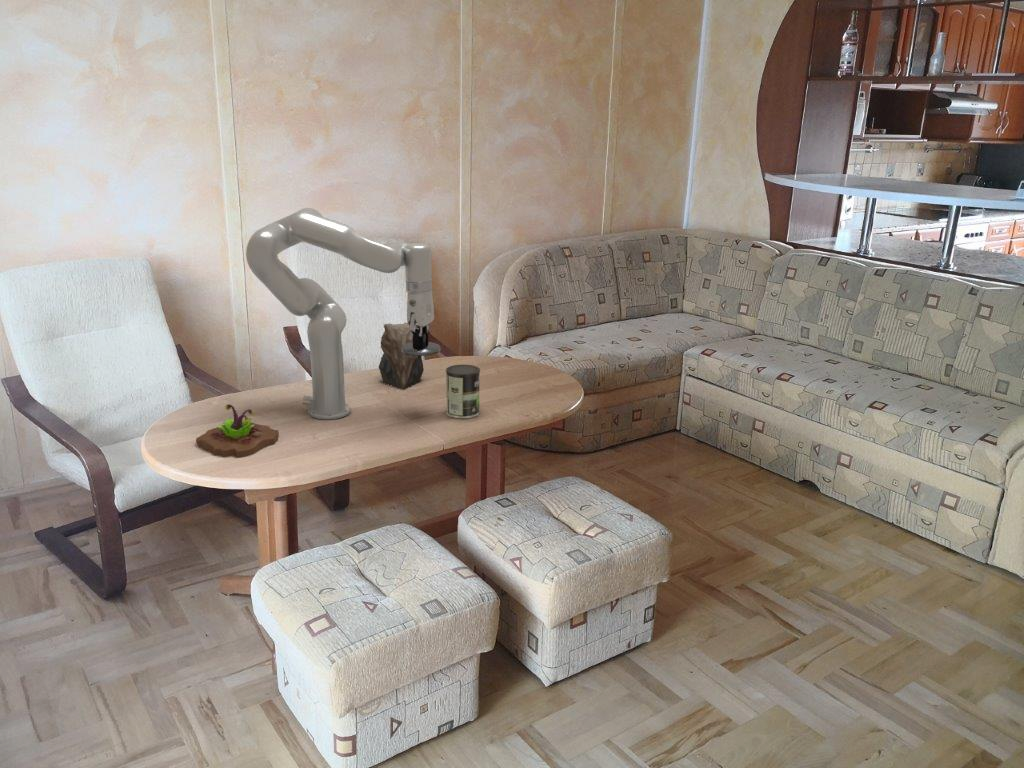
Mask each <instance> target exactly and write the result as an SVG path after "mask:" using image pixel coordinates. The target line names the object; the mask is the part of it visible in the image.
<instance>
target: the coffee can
mask: <svg viewBox="0 0 1024 768" xmlns="http://www.w3.org/2000/svg"><path fill="white" fill-rule="evenodd" d="M480 372H481V369H480V367H478V366H476V365H473V364H472V365H471V364H454V365H450V366H448V367H446V369H445V374H446V381H445V382H446V383H445V384H446V415H447V416H449V417H451V418H455V419H471V418H472V419H473V418H475V417H477V416H479V415H480V413H481V412H480Z"/></svg>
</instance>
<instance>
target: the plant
mask: <svg viewBox="0 0 1024 768" xmlns="http://www.w3.org/2000/svg"><path fill="white" fill-rule="evenodd" d="M225 410H226V411H230V410H232V414H233V419H232V418H226V420H225V421H226V422H225V421H222V424H223V425H217V426H216V427H214V428H211V429H208V430H206V432H205V433H203V434H201V435H199V436H198V437H196V438H195V439H196V440H195V442H196V443H195V444H197V445H198V446H199V447H198V446H197V445H196V446H197V447H198V448H200V447H202V448H201V449H203V448H204V449H203V450H204V451H206V450H207V452H209V451H210V453H212V454H214V456H219V457H222V458H229V457H235V458H246V457H250V456H253V455H254V454H256V453H258V452H260V451H261V450H263V449H265V448H267V447H270V446H273V445H275V444H276V443H277V442H278V441H279V436H280V435H279V430H278V429H273V428H271V427H270V426H269V425H267V424H266V425H264V424H260V423H255V422H252V417H247V415H246V414H247V413H248V414H249V415H251V416H253V415H254V414H255V411H254V410H253V409H246V410H244V411H243V412H242V413H241V414H240V415H238V412H237V410H236V409H235V406H233V404H226V405H225ZM243 418H244V419H243Z"/></svg>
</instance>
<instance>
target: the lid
mask: <svg viewBox="0 0 1024 768" xmlns="http://www.w3.org/2000/svg"><path fill="white" fill-rule="evenodd" d="M422 336H423V345H424V348H423V349H414V348H413V342H412V343H407V344H405V345H403V346H402V347H401V352H402V353H404V354H407V355H412V356H422V357H425V356H426V357H427V356H431V355H435V354H438V353H440V352H441V345H440V344H438V343H436V342H431V341H428V346H426V334H425V333H422Z"/></svg>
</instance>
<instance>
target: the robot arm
mask: <svg viewBox="0 0 1024 768" xmlns="http://www.w3.org/2000/svg"><path fill="white" fill-rule="evenodd" d="M302 242H303V243H306V244H309V245H312V246H315V247H318V248H320V249H324V250H327V251H330V252H333V253H335V254H338V255H340V256H342V257H344V258H345V259H348V260H350V261H352V262H353V263H356V264H358V265H360V266H362V267H366V268H369V269H372V270H374V271H378V272H381V273H386V274H393V273H396V272H397V271H399V270H400V268H401V267H404V269H405V272H404V273H405V292H406V293H407V295H406V296H407V297H406V299H407V301H406V321H407V322H406V323H408V325H409V326H410V328H409V330H410V331H411V332H412V336H413V348H414V349H423V348H424V345H423V336H422V333H425V334H426V346H428V342H429V329H430V328H429V326H430V324H431V323H432V322H433V321H434V320H435V309H434V297H433V279H432V278H433V277H432V276H433V275H432V274H433V273H432V249H431V246H430V245H429V244H428V243H425V242H411V243H406V242H399V241H388V242H385V243H384V244H381V243H378V242H376V241H373V240H370V239H367V238H365V237H363V236H362V235H360V234H359V233H357V231H356V230H355V229H354V228H353V227H351V226H349V225H348V224H346V223H342V222H339V221H336V220H334V219H330V218H329V217H324V216H323V215H322V213H321V212H320V211H318V210H317V209H315V208H313V207H305V208H301V209H299V210H298V211H295V212H294V213H291V214H289V215H287V216H285V217H283V218H280V219H278V220H276V221H274V222H272V223H268V224H267V225H265V226H263V227H261V228H259V229H258V230H256V231H254V233H253V234H252V235H251V236H250V238H249V240H248V242H247V245H246V250H245V257H246V262H247V265H248V267H249V269H250V270H251V272H252V274H253V275H254V276H255V277H256V278H257V279H258V280H259V281H260V283H262V284H263V285H264V286H265V288H267V289H268V290H269V291H270V293H271V294H272V295H273V296H274V297H275V299H277V301H279V303H280V304H282V306H284V307H285V309H286V310H287V311H288V312H290V314H292V315H294V316H297V317H303V316H307V317H308V319H310V320H309V322H308V324H307V329H306V330H307V333H306V334H307V339H308V341H307V342H308V347H309V356H310V358H309V359H310V366H311V367H310V368H311V370H310V371H311V388H312V396H310V395H309V396H307V395H304V396H303V397H302V405H306V406H307V405H309V408H308V415H309V416H310V417H311V418H315V419H317V420H335V419H341V418H343V417H346V416H348V415H349V414H351V406H350V405H349V404H347V403H346V394H345V393H346V390H345V387H346V386H345V370H344V369H345V367H344V365H345V364H344V352H343V351H344V350H343V344H342V333H343V331H344V330H345V328H346V325H347V315H346V313H345V311H344V310H343V308H342V307H341V306H340V305H339V303H337V302H336V300H335V299H334V298H332V296H331V295H330V294H329V293H328V292H327V291H326V290H325V289H324V288H323V287H322V286H321V285H320V284H319V283H318V282H316V281H315V280H313V279H312V278H306V277H303V278H302V277H301V278H299V277H298V276H297V275H296V274H295V273H294V272H293V271H292V270H291V269H290V268H289V267H288V266H287V265H286V264H285V263H284V262H282V260H280V259H279V256H278V255H279V254H280V253H282V252H283V251H285V250H288V249H289V248H291V247H294V246H296V245H298V244H301V243H302ZM416 328H419V330H418V329H416Z"/></svg>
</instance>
